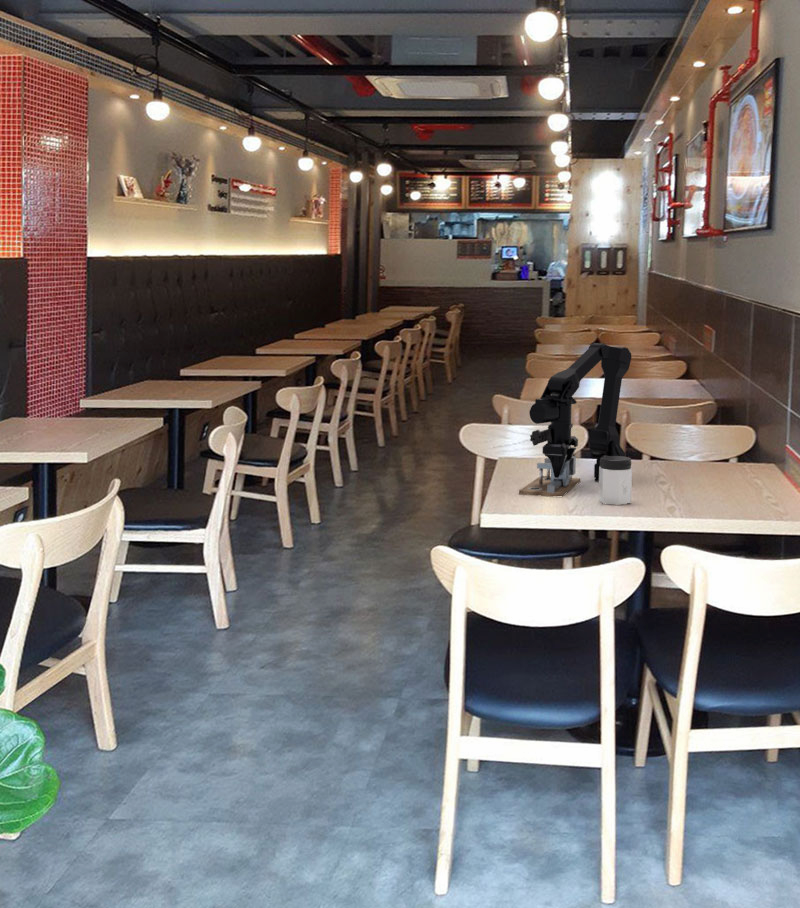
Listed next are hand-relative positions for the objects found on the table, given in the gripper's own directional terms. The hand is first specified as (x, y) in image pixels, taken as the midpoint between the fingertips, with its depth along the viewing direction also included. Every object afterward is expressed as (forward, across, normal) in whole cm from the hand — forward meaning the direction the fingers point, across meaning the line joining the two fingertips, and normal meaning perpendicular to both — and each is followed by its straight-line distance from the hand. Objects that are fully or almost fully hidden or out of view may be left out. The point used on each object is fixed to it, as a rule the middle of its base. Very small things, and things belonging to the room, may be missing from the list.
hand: (560, 475), depth 330 cm
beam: (+3, 0, -2) cm, 4 cm away
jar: (+4, +13, +18) cm, 23 cm away
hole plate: (+4, -2, -3) cm, 5 cm away
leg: (+3, 0, -2) cm, 4 cm away
